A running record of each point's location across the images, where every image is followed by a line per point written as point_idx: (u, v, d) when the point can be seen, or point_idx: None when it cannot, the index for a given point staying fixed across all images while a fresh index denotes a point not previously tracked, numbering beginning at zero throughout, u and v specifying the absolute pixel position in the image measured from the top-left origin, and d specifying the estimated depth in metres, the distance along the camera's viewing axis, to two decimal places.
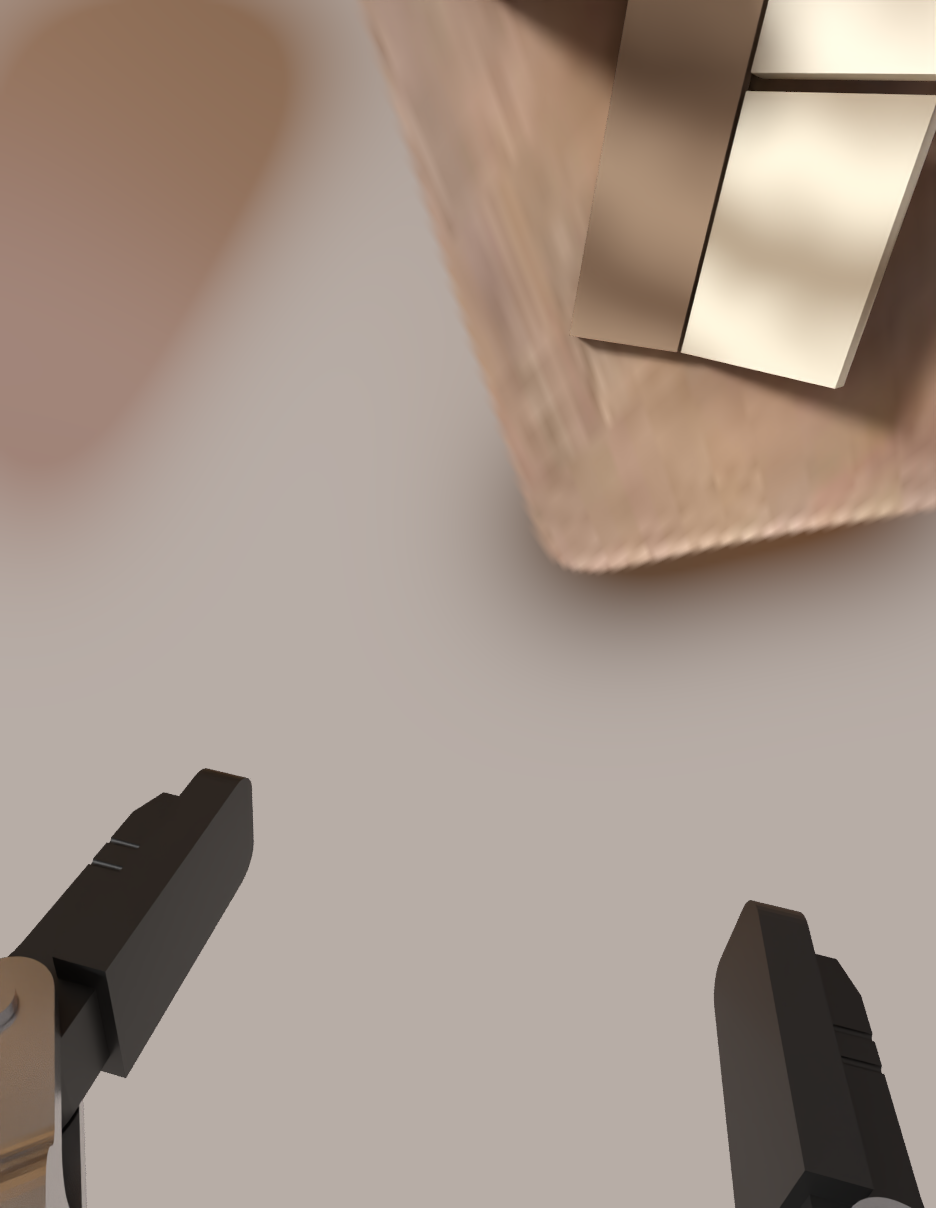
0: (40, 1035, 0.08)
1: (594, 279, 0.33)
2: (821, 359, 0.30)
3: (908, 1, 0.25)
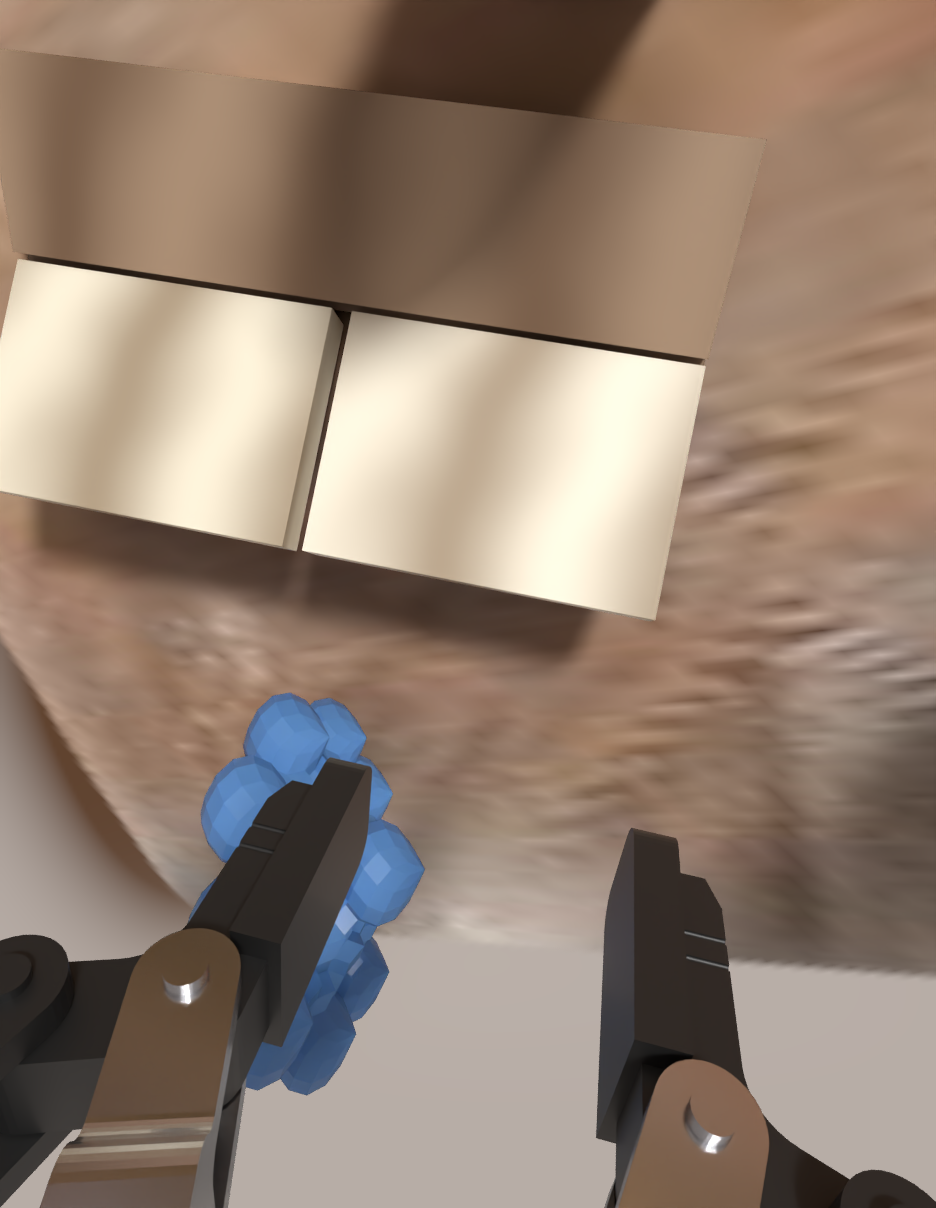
0: (220, 1015, 0.08)
1: (68, 88, 0.20)
2: (4, 461, 0.22)
3: (384, 495, 0.21)
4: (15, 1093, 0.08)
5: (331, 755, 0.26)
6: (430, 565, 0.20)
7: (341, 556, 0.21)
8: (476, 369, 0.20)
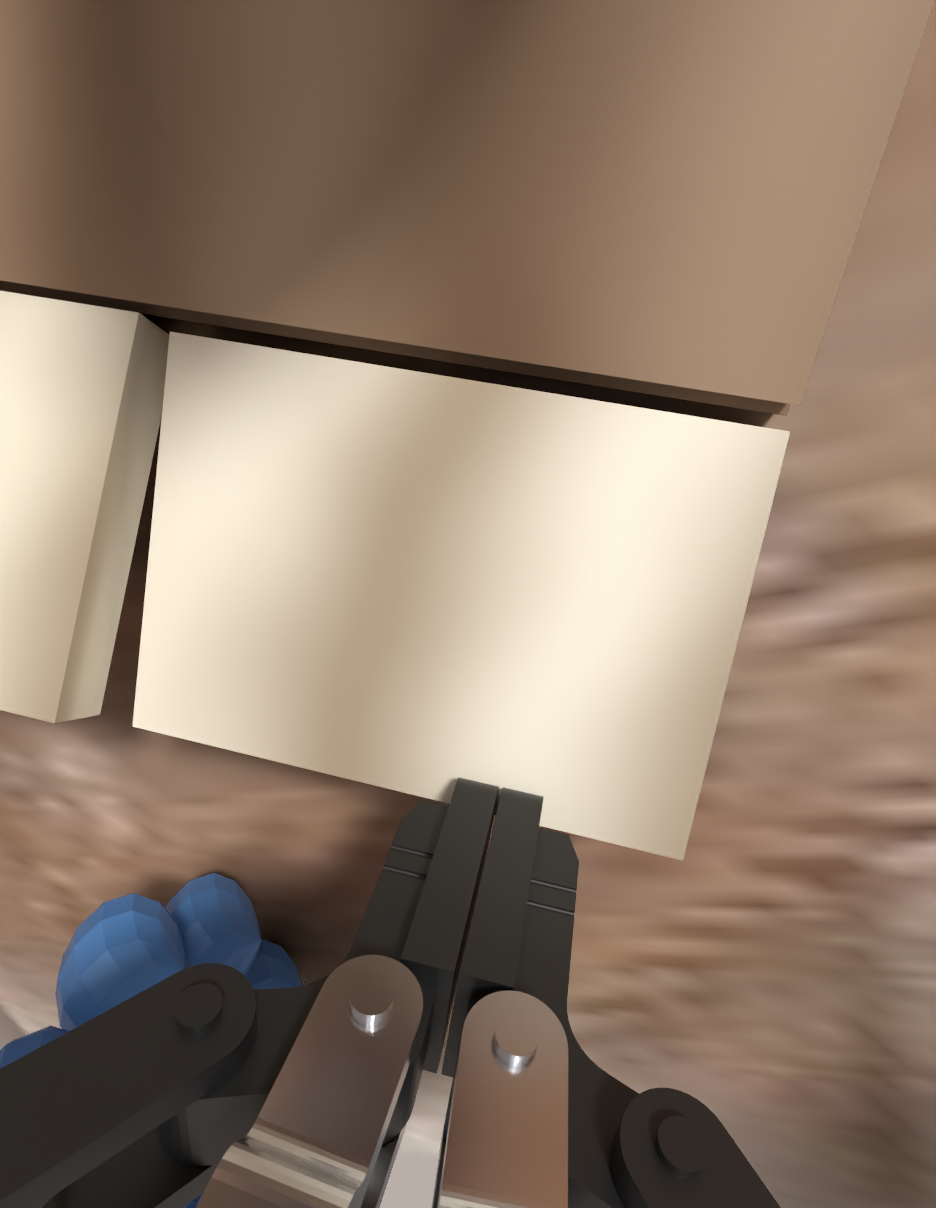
0: (393, 1059, 0.08)
1: None
2: None
3: (247, 645, 0.13)
4: (184, 1127, 0.08)
5: None
6: (324, 757, 0.13)
7: (191, 737, 0.13)
8: (382, 436, 0.12)
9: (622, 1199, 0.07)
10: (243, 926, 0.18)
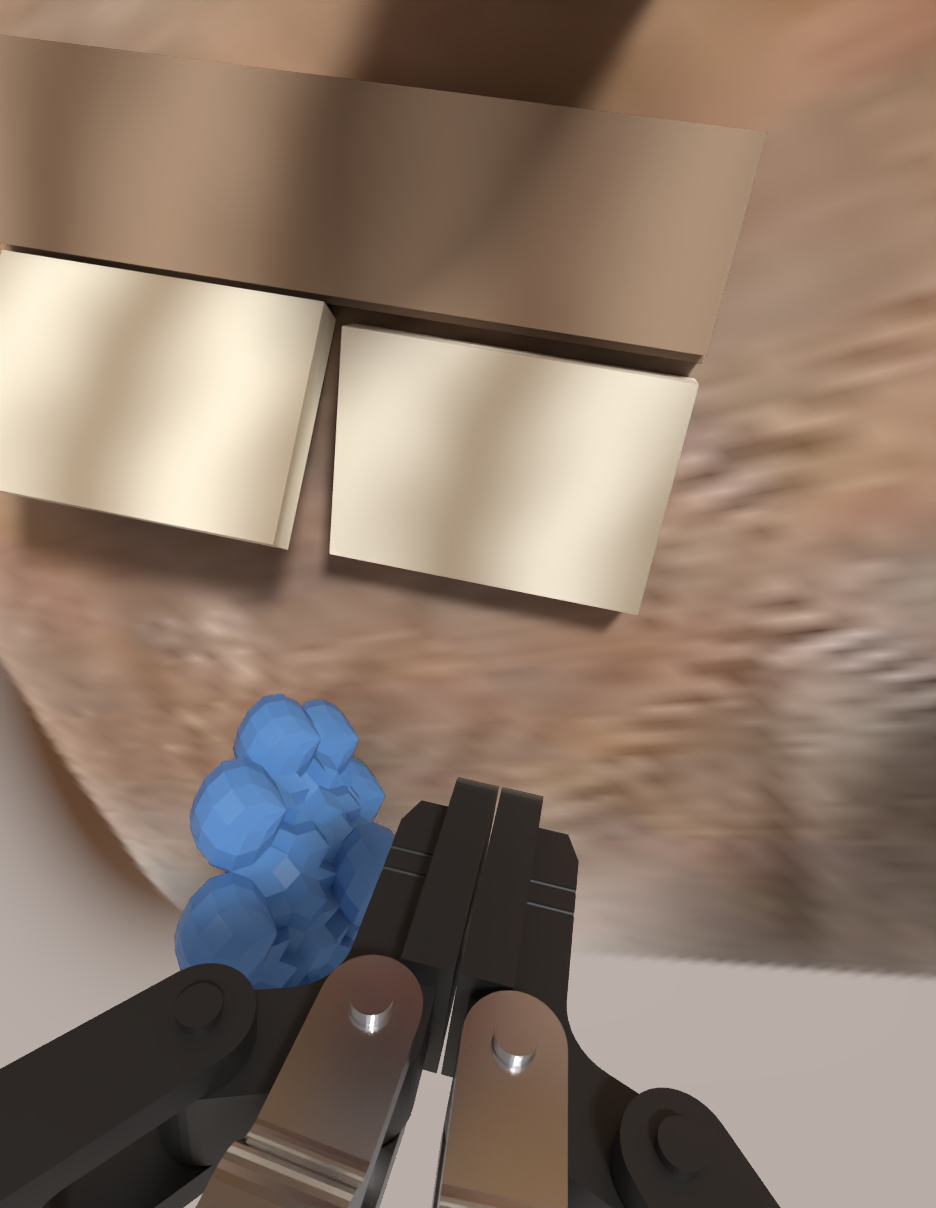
0: (393, 1059, 0.08)
1: (53, 74, 0.19)
2: None
3: (395, 507, 0.23)
4: (184, 1127, 0.08)
5: (323, 756, 0.26)
6: (441, 567, 0.23)
7: (364, 559, 0.24)
8: (470, 387, 0.21)
9: (622, 1199, 0.07)
10: (346, 729, 0.27)
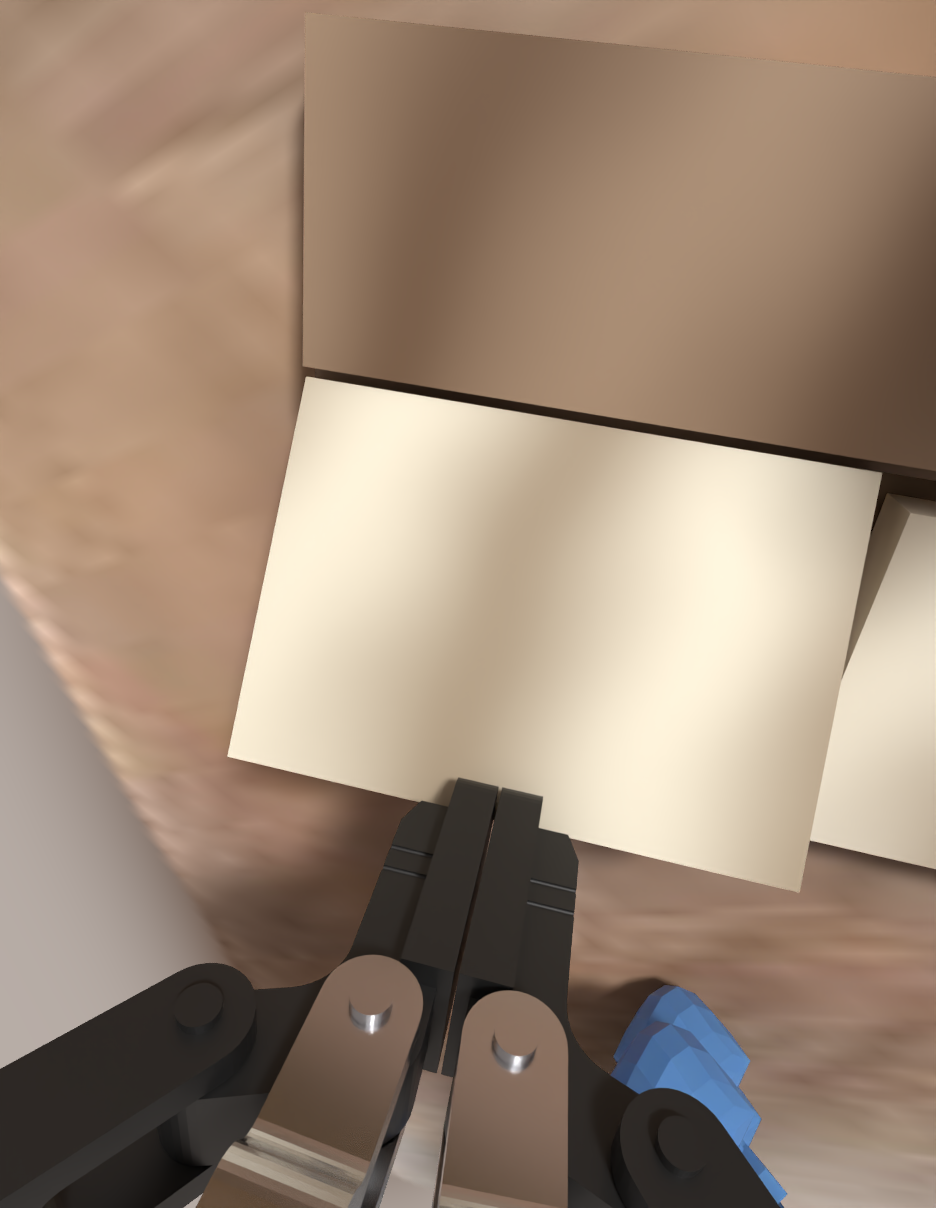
0: (393, 1059, 0.08)
1: (468, 90, 0.11)
2: (288, 720, 0.13)
3: (919, 779, 0.14)
4: (184, 1127, 0.08)
5: None
6: None
7: (837, 844, 0.15)
8: None
9: (622, 1199, 0.07)
10: (732, 1046, 0.18)
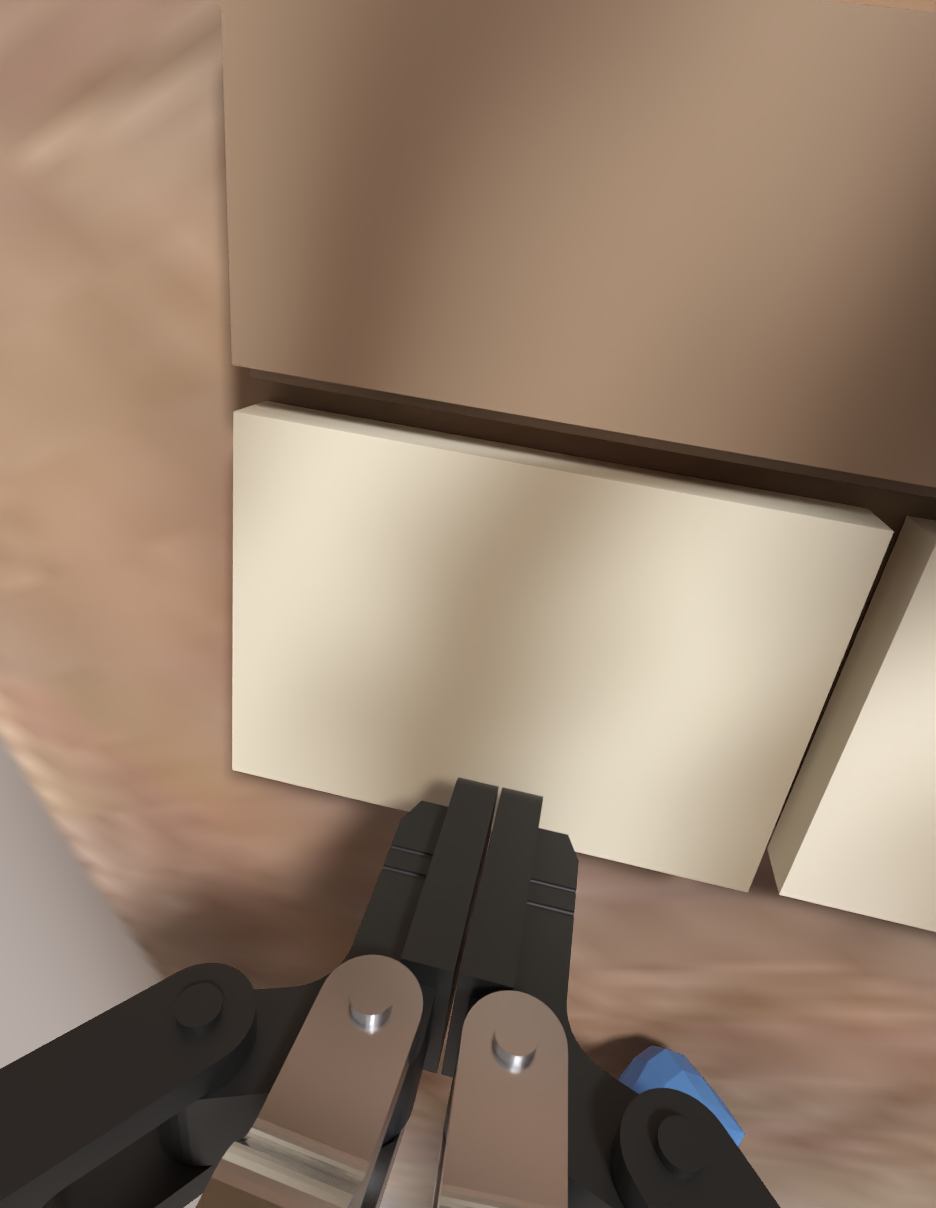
0: (393, 1059, 0.08)
1: (416, 33, 0.09)
2: (281, 744, 0.14)
3: None
4: (184, 1127, 0.08)
5: None
6: None
7: (844, 907, 0.13)
8: None
9: (622, 1199, 0.07)
10: (725, 1118, 0.16)
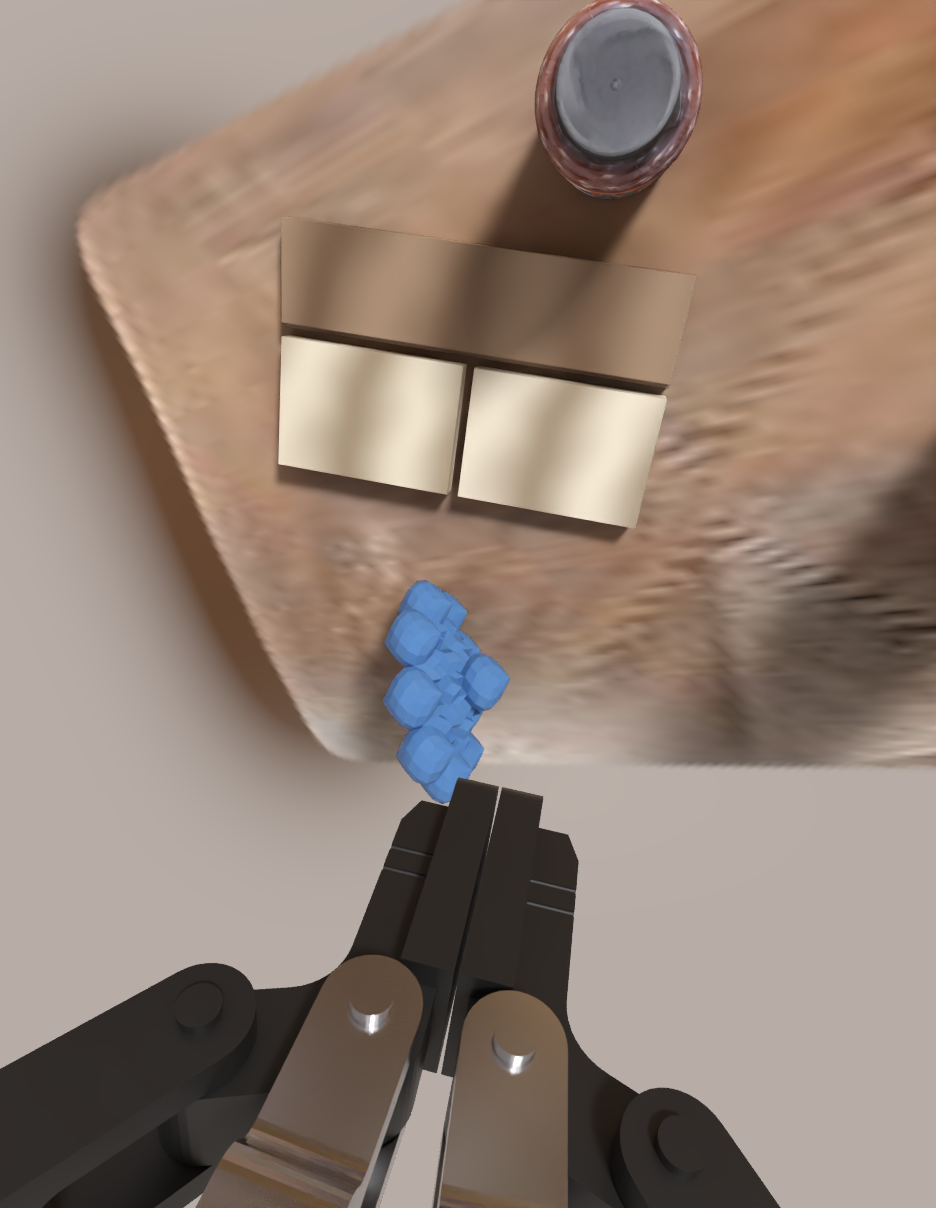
0: (393, 1059, 0.08)
1: (328, 239, 0.37)
2: (295, 452, 0.42)
3: (498, 468, 0.40)
4: (184, 1127, 0.08)
5: (448, 620, 0.43)
6: (523, 503, 0.41)
7: (478, 499, 0.41)
8: (543, 401, 0.38)
9: (622, 1199, 0.07)
10: (460, 605, 0.44)
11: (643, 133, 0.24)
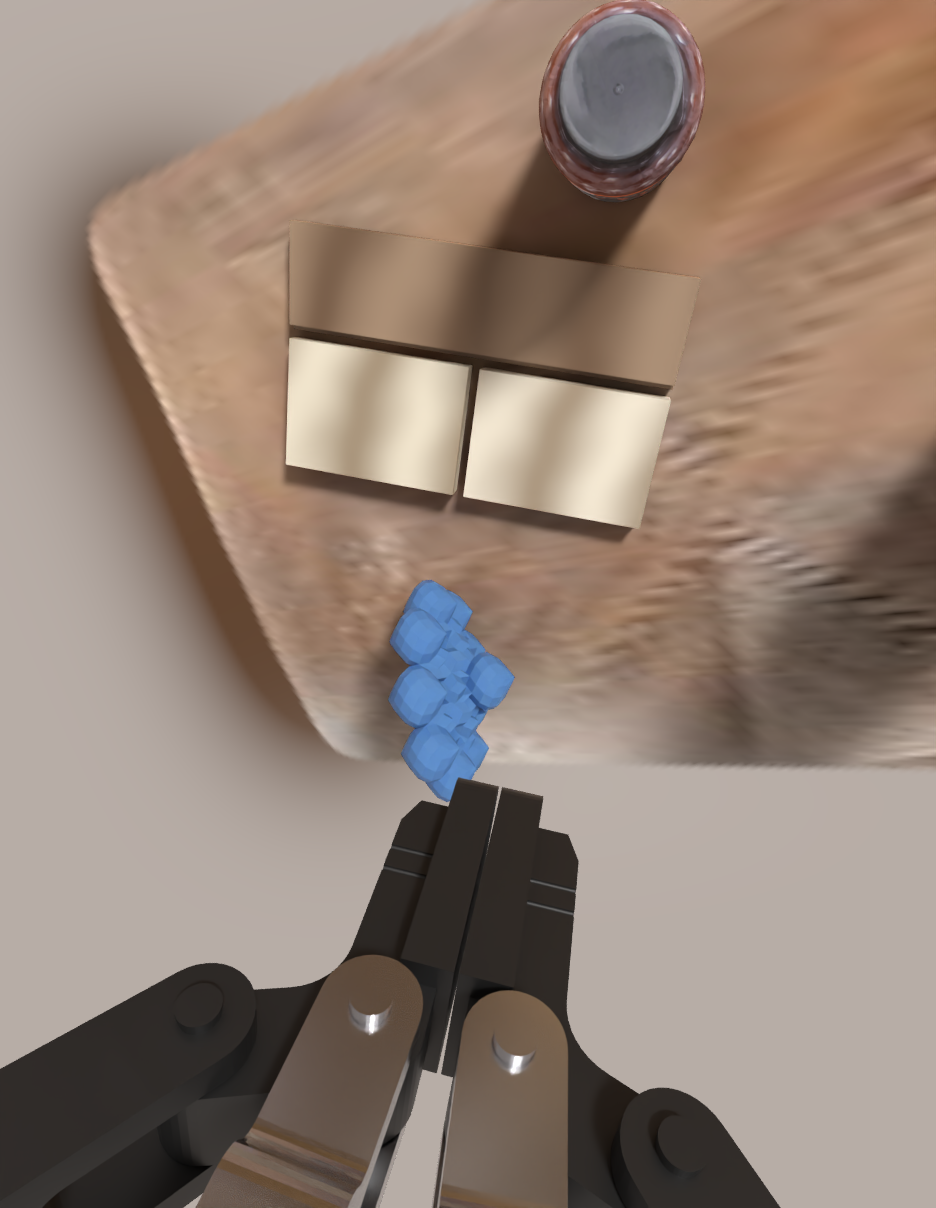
0: (393, 1059, 0.08)
1: (336, 242, 0.37)
2: (302, 452, 0.42)
3: (503, 468, 0.40)
4: (184, 1127, 0.08)
5: (453, 619, 0.44)
6: (528, 503, 0.41)
7: (483, 499, 0.41)
8: (548, 402, 0.39)
9: (622, 1199, 0.07)
10: (465, 605, 0.44)
11: (645, 137, 0.24)
